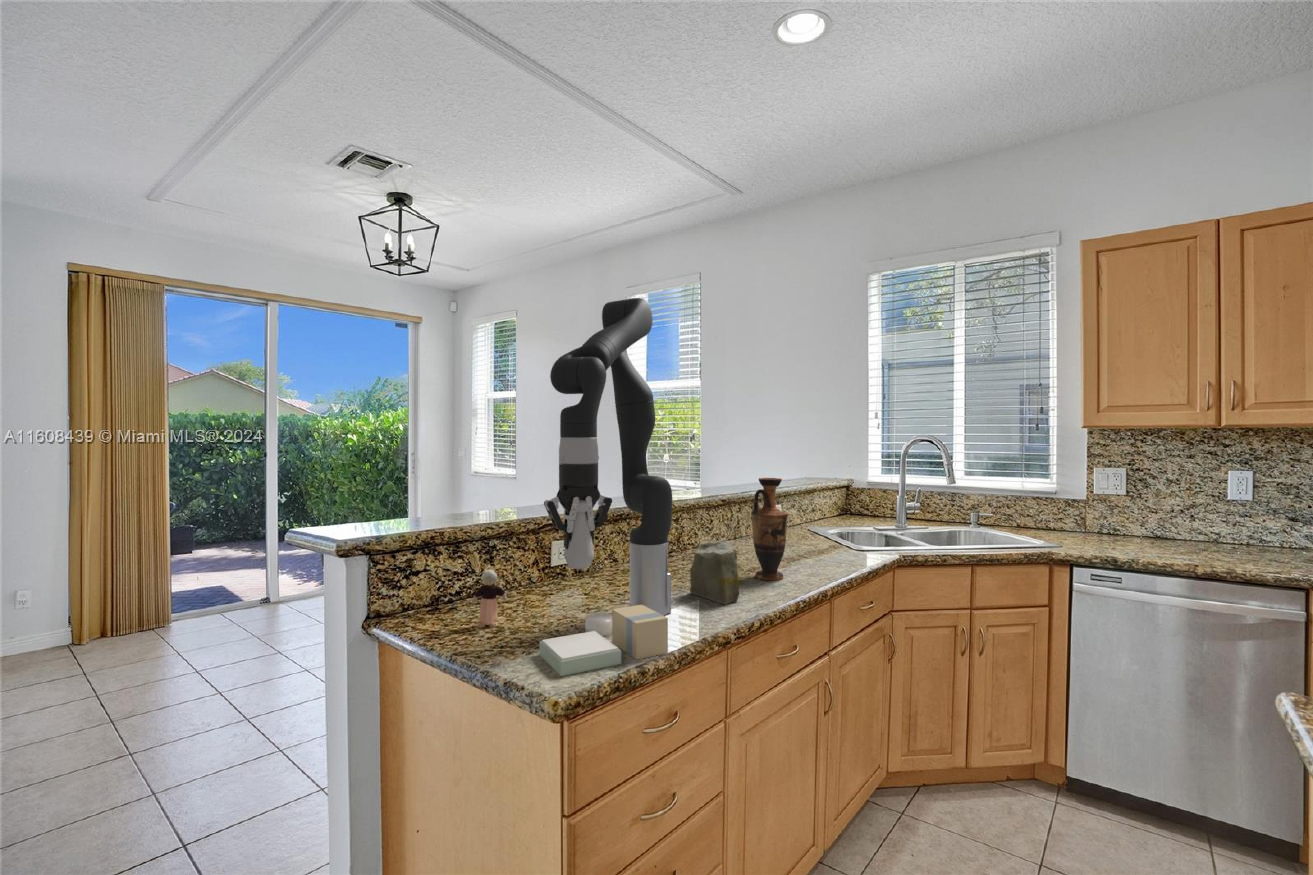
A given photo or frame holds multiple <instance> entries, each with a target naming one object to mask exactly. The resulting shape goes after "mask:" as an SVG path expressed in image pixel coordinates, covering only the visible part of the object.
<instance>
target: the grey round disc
mask: <svg viewBox="0 0 1313 875" xmlns="http://www.w3.org/2000/svg"><path fill="white" fill-rule="evenodd" d="M584 620H585V621H584V622H585V623H584V625H585V626H584V629H585V630H584V633H586V632H591V631H596V632H597V633H598V634H600V635H601V636H603V637H604V638H605V637H609V636H612V613H605V612H595V613H591V614H589V615H586V616H585V618H584Z"/></svg>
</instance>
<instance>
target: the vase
mask: <svg viewBox="0 0 1313 875" xmlns="http://www.w3.org/2000/svg"><path fill="white" fill-rule="evenodd" d="M782 480H783V479H782V478H777V477H759V478H758V481H759V482H758V483H759V484H760V485H761V486H762V489H757V491H756V492H755V493H754V494H755V495H754V497H753V509H752V511H751V513H750V514H751V524H752V525H751V526H752V529H751V530H752V540H753V548H754V551H755V555H756V557H757V560H758V562H759V565H760V568H761V570H758V571H756V572H755V574H754V577H755V579H759V580H763V581H780V580H782V579H784V573H782V572H781V571H778V569H779V566H780V564H781V561H782V559H783V557H784V553H785V551H786V550H785V548H786V542H787V533H788V532H787V530H788V527H787V526H788V517H789V513H788V512H786V511H782V510H780V509H779V508H778V507H777V505H776V490H777V488H778V487H780V485H781V482H782ZM760 494H761V495H762V497H763V505H762V508H760V505H759V496H760Z"/></svg>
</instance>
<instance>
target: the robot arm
mask: <svg viewBox="0 0 1313 875" xmlns="http://www.w3.org/2000/svg"><path fill="white" fill-rule="evenodd" d="M601 312H602V313H601V321H602V322H601V323H602V329H601V330H598V331H597V332H595V333H594V334H593V335H591V336H590V337H588V339H587V340H586V341H585V342H584V343H583V344H582V345H581V346H580V347H578V348H574V349H572V350H570V351H569V352H566V353H565V354H563V355H561V356H560V357H558V358H557V360H556V361H555V362H554V363H553V365H552V368H551V370H550V376H549V377H550V378H549V379H550V383H551V385H552V387H553V389H554V390H555V391H557V392H558V393H560V394H563V395H582V396H581V399H580V400H579V402H578V403H577V404H575V405H571V406H567V407H565V408H563V409H561V411H560V415H559V416H560V417H559V421H560V422H559V428H560V429H559V434H560V435H559V436H560V438H559V446H558V491H557V493H556V496H554V497H553V498H551V499H546V500H544V502H543V505H544V508H545V510H546V512H547V515H548V516H549V518H550V521H551V523H552V525H553V527H554V528H555V529H557V530H559V531H562V533H563V547H564V550H565V549H568V547H569V541H570V543H571V539H572V534H573V533H571V532H572V531H573V526H574V521H575V519H576V513H577V509H576V506H578V504H579V500H585V502H586V505H588V510H587V512H585V513H586V514H587V515H586V516H587V521H588V527H589V530H590V535H591V537H592V543H593V546H594V545H595V544H594V541H595V540H594V539H595V535H594V534H595V530H596V529H597V528H601V527H603V525H604V523H605V521H606V518H607V516H608V513H609V511H610V508H611V505H612V503H613V498H611V497H608V496H604V495H603V494H601V492H600V490H599V487H598V486H599V460H600V457H599V445H598V438H597V437H598V414H599V409H600V404H601V400H602V397H603V393H604V390H605V386H606V382H607V371H608V369H609V368H610V370H611V376H612V384H613V394H614V395H613V396H614V404H615V412H616V420H617V424H618V425H617V427H618V434H619V444H620V453H621V477H622V478H621V479H622V496H623V497H622V498H623V500H624V504H625V505H626V507H627V508H628V509H629V510H630V511H632V512H635V513H638V514H639V513H640V514H641V522H640V524H639V525H638V526H637V527H635V528H633V529H631V530H630V533H629V606H636V605H644V606H646V607H648V608H649V609H651V610H653V611H655V612H658V613H660V614H662V615H663V616H665V615H667V614H671V613H672V574H671V572H668V570H669V564H668V562H669V558H668V557H669V556H668V555H669V554H668V552H669V551H668V549H669V547H668V545H669V544H668V540H669V535H670V531H671V528H672V517H673V516H672V514H673V490H672V486H671V484H670V482H669V481H668V480H667V479H666V478H664V477H661V476H659V475H649V470H648V462H647V461H648V460H647V452H648V447H649V443H650V440H651V439H652V435H653V432H654V429H655V426H656V410H655V403H654V402H655V401H654V395H653V391H652V390H651V388H650V386H649V385H648V383H647V381H646V380H645V379H644V378H643V377H642V376H641V374H640V372H639V371H638V370H637V369H636V367H634V365H633V363H632V361H631V359H630V357H629V355H628V352H627V349H629V347H632V345H634V344H636V343H637V342H638V341H640V340H641V339H643V338H645V337H646V336H647V335H649V334H650V332H651V330H652V328H653V321H654V320H653V313H652V308H651V306H650V304H649V302H648V301H647V300H646V299H644V298H641V297H631V298H627V299H626V298H625V299H620V300H613V301H608V302H606V303H605V304H604V305H603V308H602V311H601ZM559 504H560V505H561V506H562V508H563V509H564V510H563V520H562V518H561V517H560V516H561V515H560V513H559V511H558V509H559V508H560V507H559ZM595 505H598V507H597V510H596V512H595V515H594V507H595Z"/></svg>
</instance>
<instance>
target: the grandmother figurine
mask: <svg viewBox="0 0 1313 875" xmlns="http://www.w3.org/2000/svg"><path fill="white" fill-rule="evenodd" d="M497 579H498V574H497V573H496V572H495V571H494V570H492V569H486V570H484V571H483V573H482V580H483V585H481V586H479V588H478V589H477V590H476V592H475V593H474V596H473V599H472V600H471V603H472V604H476V603H477V601H478V600H479V598H480V597H481V599H480V606H479V620H478V624H477V625H476V628H478V629H479V628H485V627H487V625H488V627H489V628H497V627H498V623H497V620H498V609H499V608H498V598H497V596H499V597H501V598H502V600H503V602H506V601H508V596H507V595H506V591H505V590H504V589H503V588H502V587H501V586H498V585H496V584H495V583H496V580H497Z"/></svg>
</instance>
